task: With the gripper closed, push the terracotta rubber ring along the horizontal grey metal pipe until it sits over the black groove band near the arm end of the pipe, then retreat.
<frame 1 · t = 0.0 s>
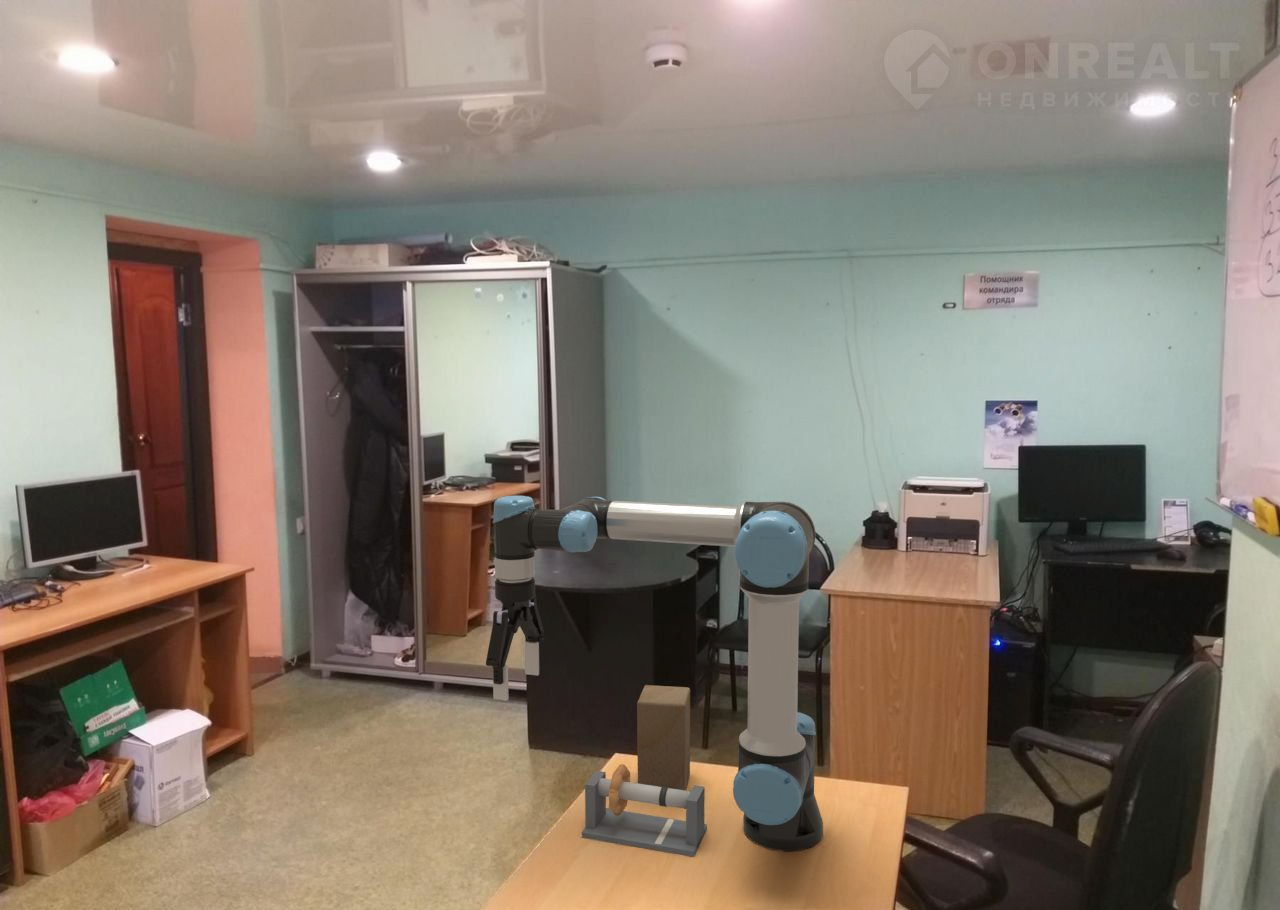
hand: (517, 686, 172), 28 cm above the table, fingers open, 13 cm apart
pipe stand: (644, 833, 172), on the table
wooden block: (664, 785, 191), on the table
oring: (619, 789, 172), point 8 cm above the table, slide at 5.0 cm
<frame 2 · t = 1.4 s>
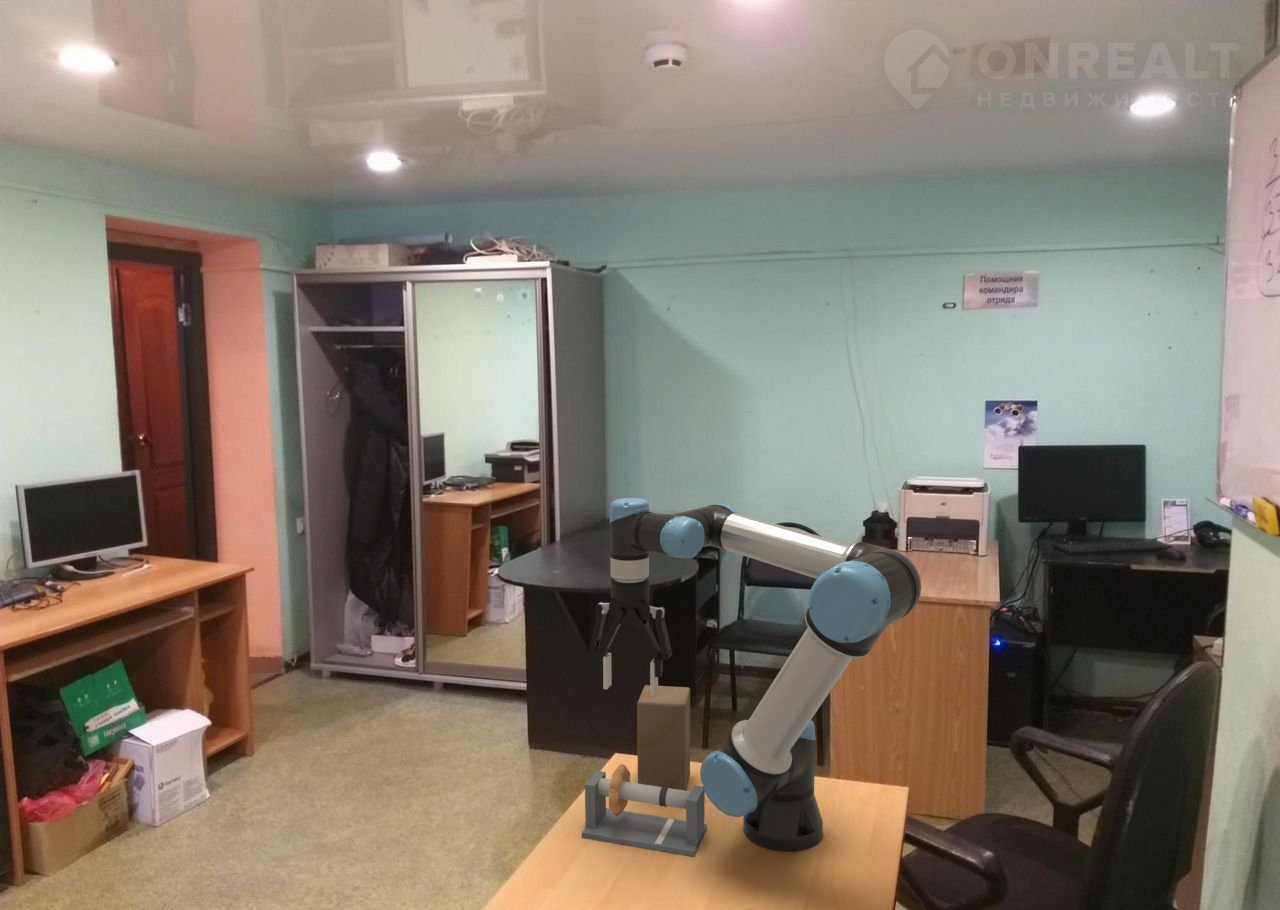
hand: (630, 689, 177), 25 cm above the table, fingers open, 9 cm apart
nothing on the table moved.
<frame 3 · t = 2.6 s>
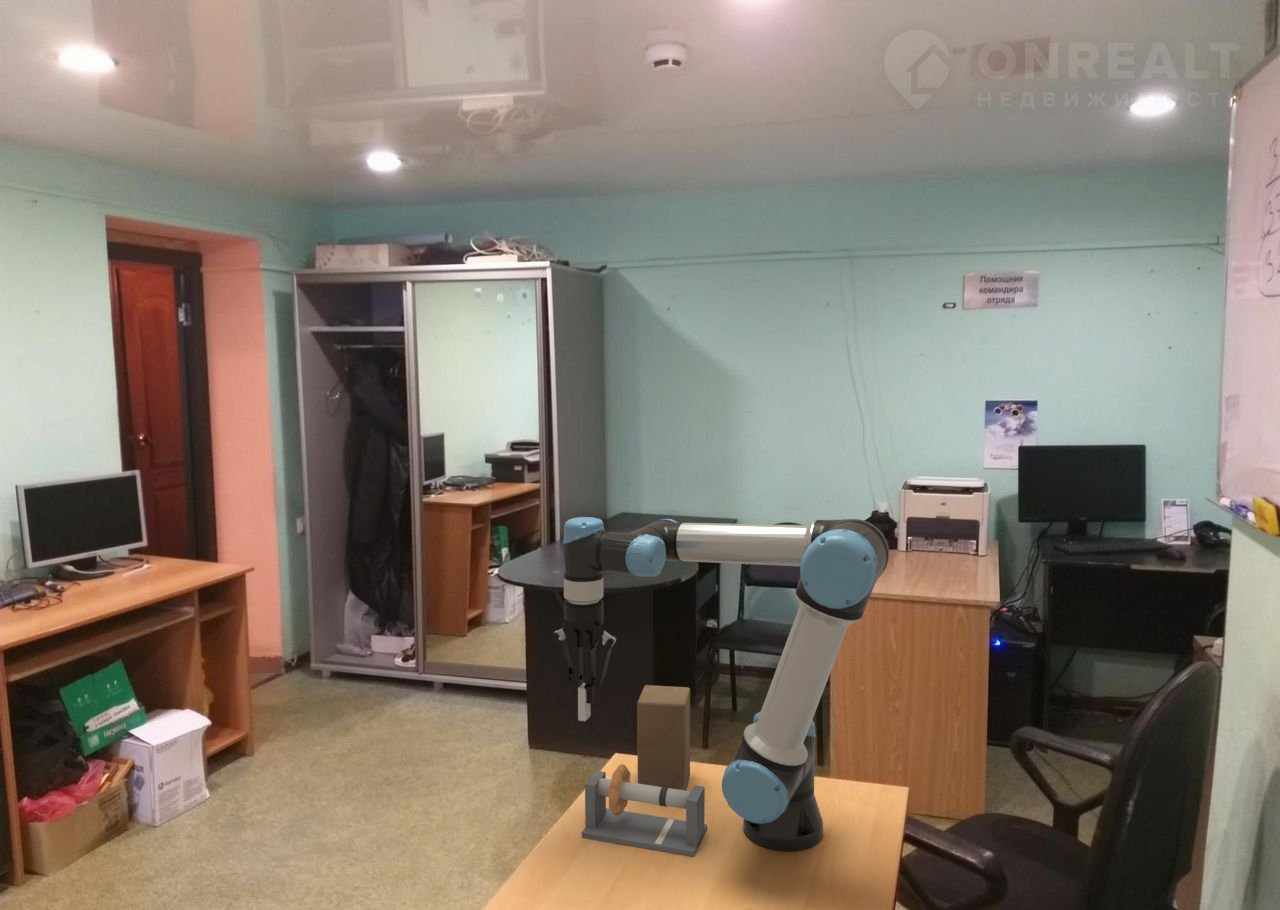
hand: (584, 718, 173), 21 cm above the table, fingers closed
nothing on the table moved.
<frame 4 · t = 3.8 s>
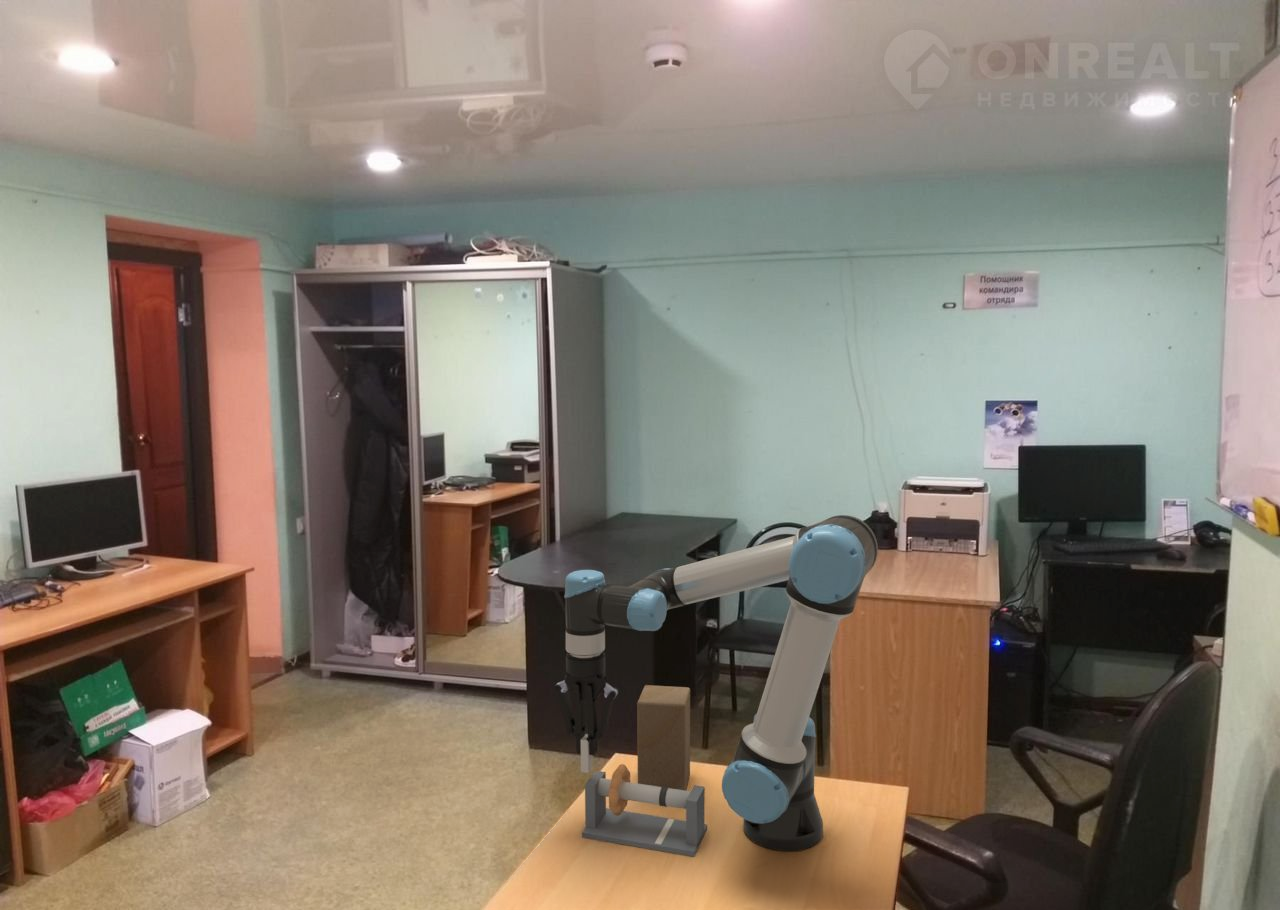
hand: (587, 769, 174), 11 cm above the table, fingers closed
nothing on the table moved.
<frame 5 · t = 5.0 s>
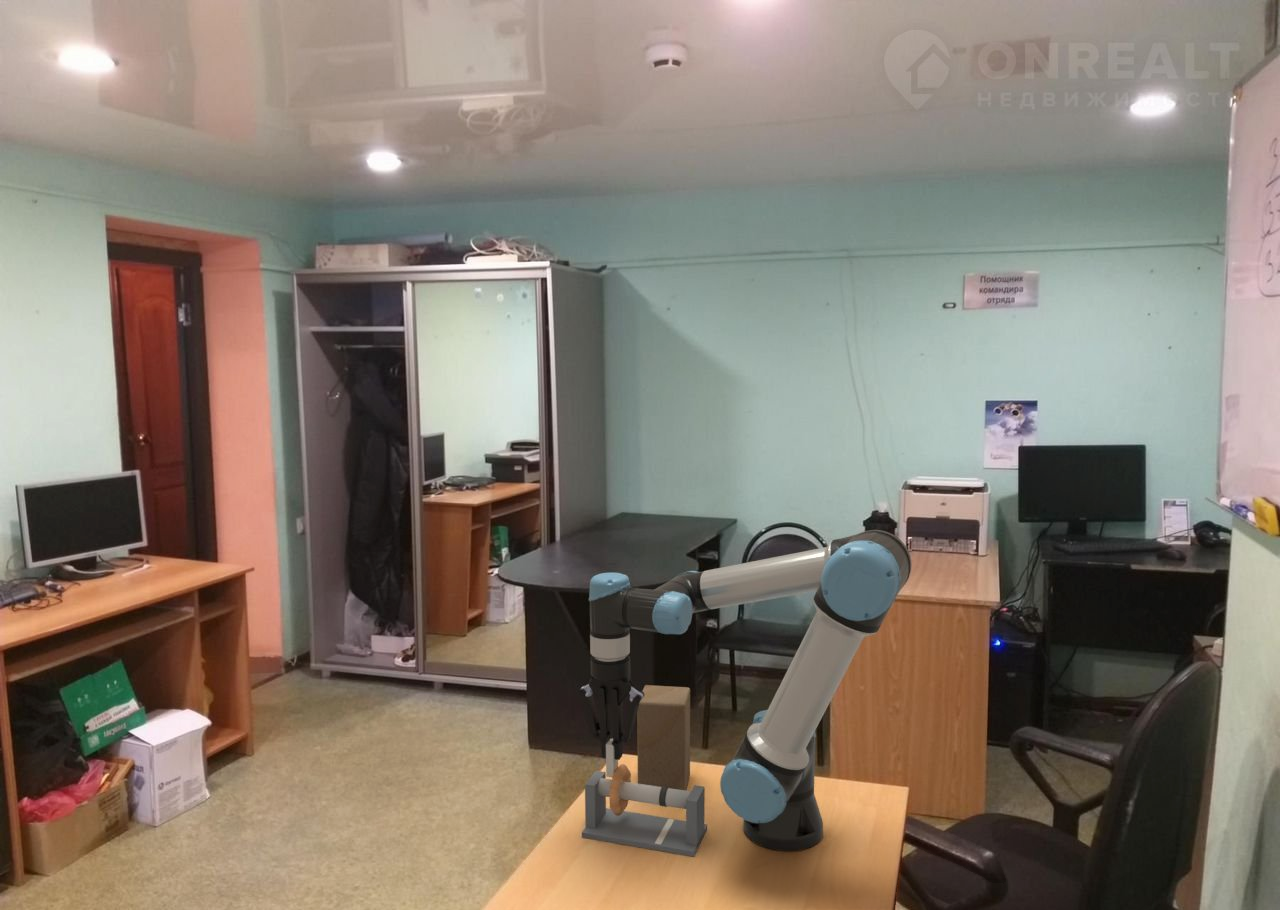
hand: (612, 773, 172), 11 cm above the table, fingers closed
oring: (620, 789, 172), point 8 cm above the table, slide at 4.9 cm, touching gripper
everything else where it was.
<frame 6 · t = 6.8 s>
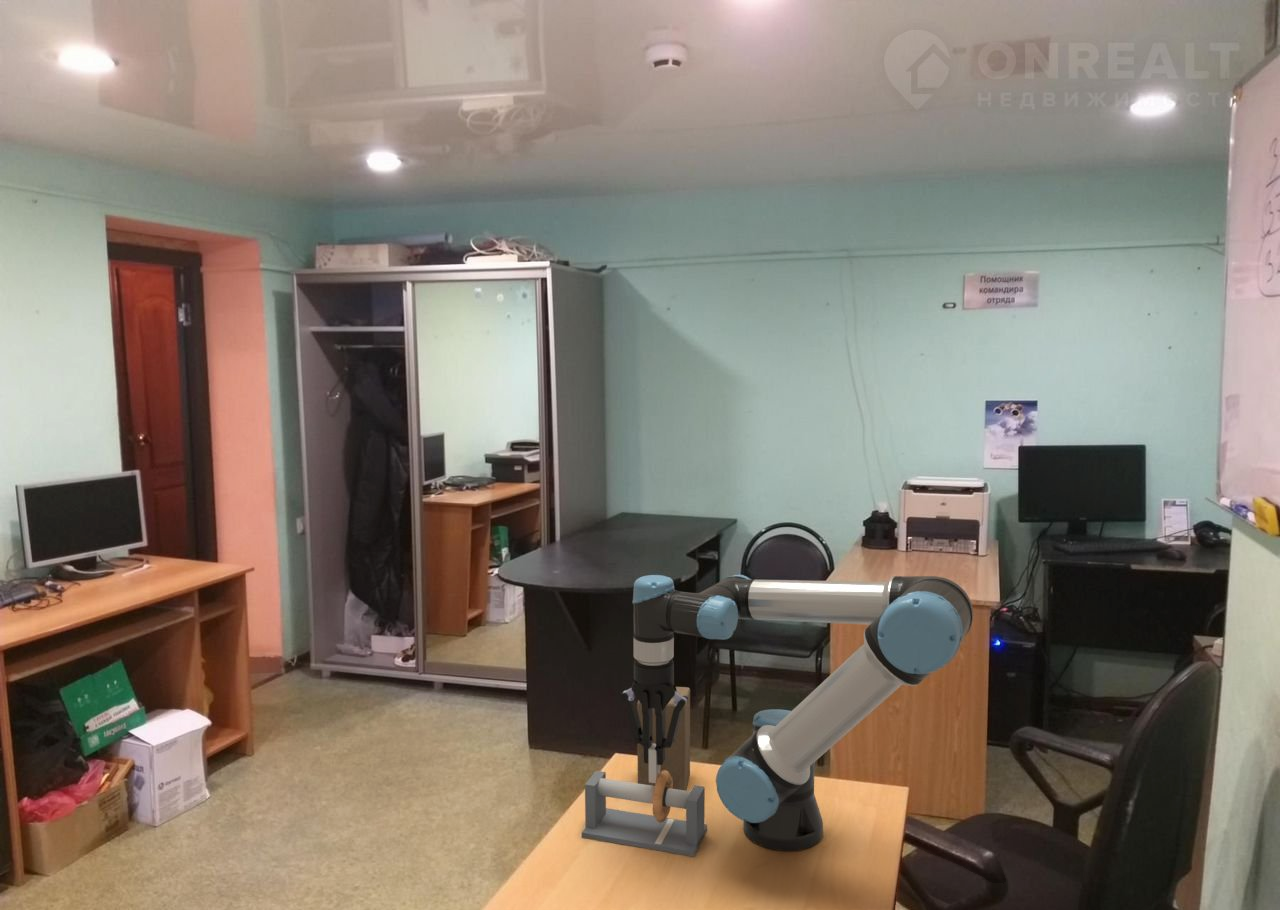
hand: (654, 779, 170), 11 cm above the table, fingers closed
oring: (662, 796, 170), point 8 cm above the table, slide at -3.6 cm, touching gripper
everything else where it was.
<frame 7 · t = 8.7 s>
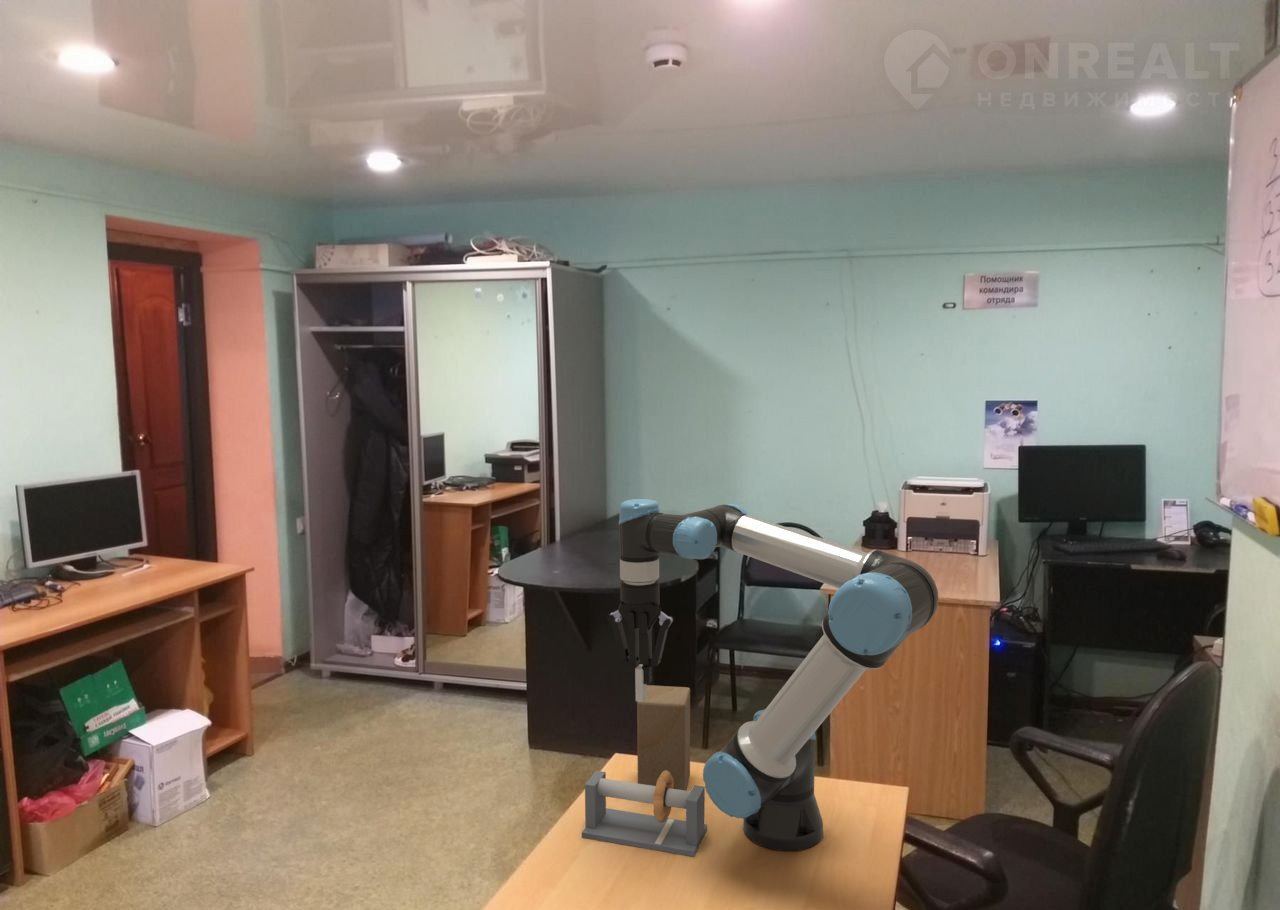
hand: (641, 699, 174), 25 cm above the table, fingers closed
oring: (663, 796, 170), point 8 cm above the table, slide at -3.8 cm
everything else where it was.
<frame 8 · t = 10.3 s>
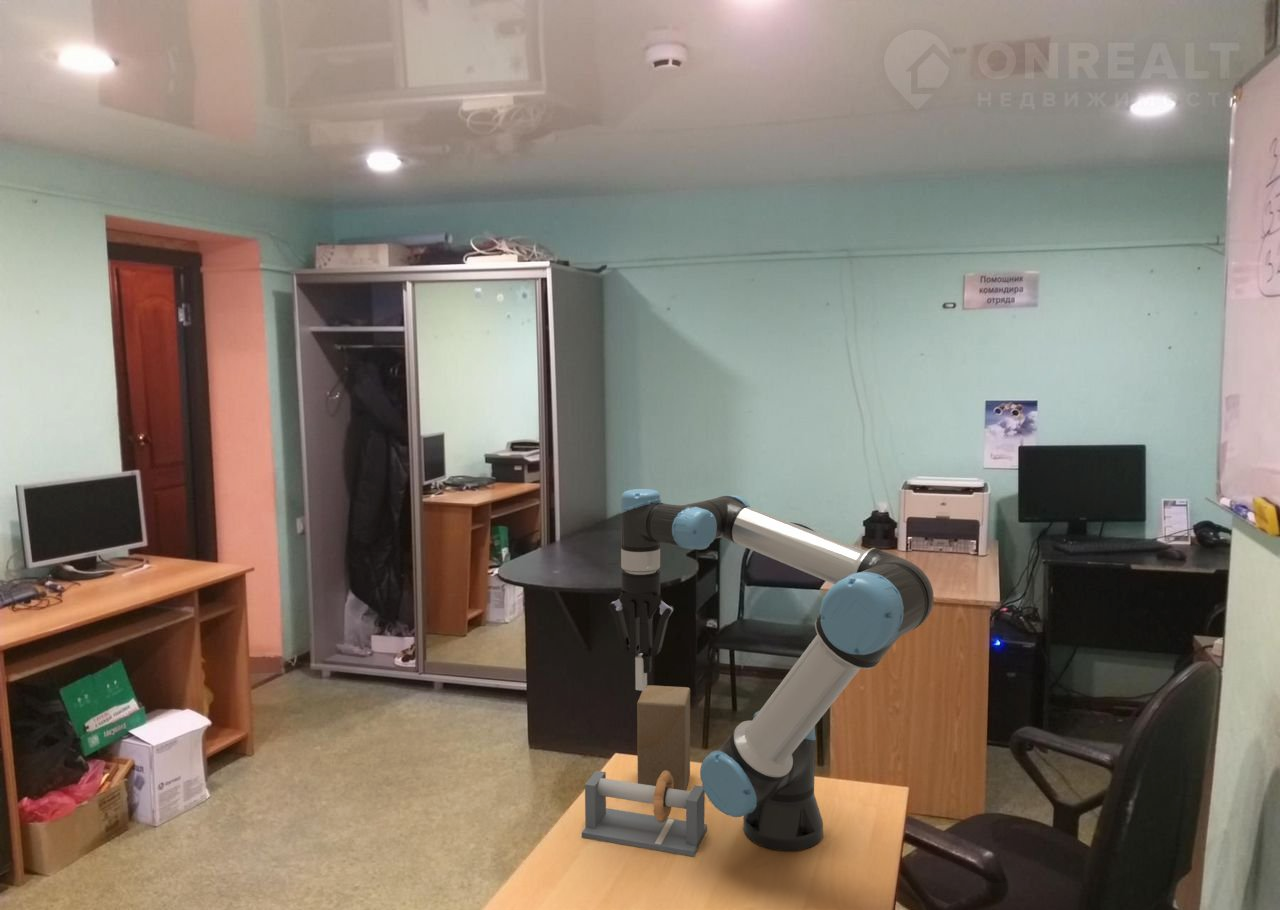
hand: (641, 687, 175), 26 cm above the table, fingers closed
nothing on the table moved.
at the end: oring slide at -3.8 cm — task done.
